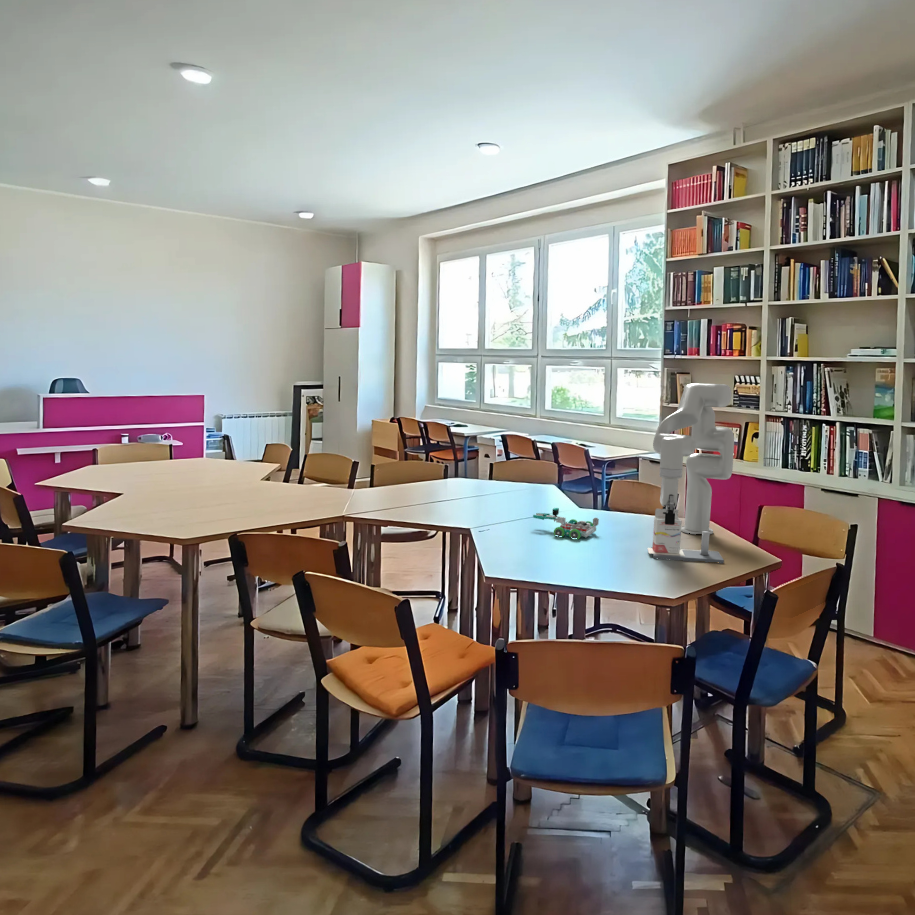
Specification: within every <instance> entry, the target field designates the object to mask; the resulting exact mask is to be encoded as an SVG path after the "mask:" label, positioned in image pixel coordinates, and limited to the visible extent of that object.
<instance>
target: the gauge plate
mask: <svg viewBox="0 0 915 915" xmlns="http://www.w3.org/2000/svg"><path fill="white" fill-rule="evenodd" d="M710 535H711V534H710V532H708V531H702V535H701V544H700V546H701V547H700V549H689V548H688V549H687V548H680V553H658V552H655V551H654V550H653V549H652V547H653V546H651V547H647V548H646V549H647V551H648V554H649V555H651V554H653V555H652V558H653V559H654V558H658V559H657V560H665V559H668V560H669V559H670V560H669V561H679V560H683V562H694V561H705V562H704V563H708V562H719V563H718V564H723V563H725V559H724V557H723V556H722V555H721V554H720V552H719V551H718V550H716V551H715V550H709V544H710ZM668 560H667V561H668Z"/></svg>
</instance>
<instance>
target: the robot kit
mask: <svg viewBox="0 0 915 915" xmlns="http://www.w3.org/2000/svg"><path fill="white" fill-rule="evenodd" d="M559 512H560V509H559V507H554V508H552V514H550V513H545V512H544V513H542V512H536V514H532V518H533V519H538V520H543V521H544V520H553V521H554V523H555V522H556V523H558V524H560V526H557V527H555V528H554V530H553V535H554V536H555V535H559V536H563V537H564V536H566V537H569V538H570V537H572V538H574V537H575V538H577V539H578V540H579V539H581V537H585V538H587V537H590V535H592V534H593V533H595V532H596V531H597V526H598V525H599V521H600V519H599V518H598V517H594V518H593V519H592V521H589V520H587V521H586V520H579V521H578V520H577V519H574V518H572V519H570V520H569V521H567V519H566V517H563V516H558V515H559Z"/></svg>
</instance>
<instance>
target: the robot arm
mask: <svg viewBox="0 0 915 915" xmlns="http://www.w3.org/2000/svg"><path fill="white" fill-rule="evenodd" d="M731 400H732V389H731V387H730V385H728V384H724V383H722V384H721V383H702V382H699V383H698V382H694V383H688V384H686V385H685V386H684V388H683V392H682V395H681V398H680V401H679V404H678V406H677V410H676V411H675V412H673V413H672V414H670V415H668V416H667V417H665V418H664V419H663V420H662V421H661V422H660V423H659V424H658V427H657V429H656V430H655V431H656V432H655V434H654V437H653V442H652V448H653V450H654V452H655V453H656V454H658V455H660V457H659V459H660V460H659V478H661V482H660V483H661V485H660V497H659V502H660V505H661V506H662V509H666V512H663V514H665V524H666V525H674V524H675V509H676V506H677V505H678V496H679V494H678V493H679V480H680V479H683V464H684V463H683V462H684V457H686V462H685V468H686V496H685V512H684V525H681V533H685V534H689V533H690V535H696V534H702V531H708V532H710V534H709V535H712V534H713V533H714V530H713V529H712V528H711V527H710V521H711V510H712V509H711V506H712V496H713V494H712V492H713V489H712V486H711V484H710V483H709V481H708V479H712V480H713V479H714V480H729V479H730V478H731V476H732V475H733V469H734V452H735V451H734V450H735V435H734V432H733V430H732V429H730V428H729V427H722V426H720V427H719V426H716V413H715V410H714V408H725V407H727V406H728V405H729V404H730V403H731ZM689 427H691V435H688V434H678V433H673V432H675V431H677V430H681V429H686V428H689ZM695 450H699V451H706V452H707V451H708V452H718V453H719V454H713V453H701V452H699V453H698V452H697V453H696V452H695ZM694 452H695V453H694Z"/></svg>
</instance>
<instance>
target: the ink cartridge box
mask: <svg viewBox="0 0 915 915" xmlns="http://www.w3.org/2000/svg"><path fill="white" fill-rule="evenodd" d="M663 512H666V509H663V508H655V511H654V517H653V532H652V533H653V534H652V535H653V536H652V546H651V547H652V549H653V550H654V551H655V552H658V553H680V549H681V537H682V536H681V535H682V531H681V527H682V523H683V521H682V520H681V519H680V518H679V509H676V508H675V524H674V525H666V524H665V514H663Z"/></svg>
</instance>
